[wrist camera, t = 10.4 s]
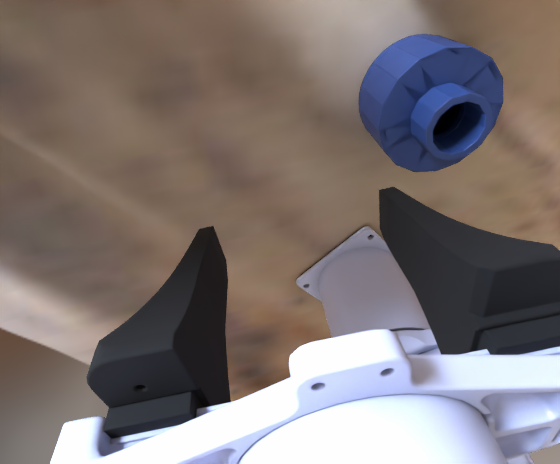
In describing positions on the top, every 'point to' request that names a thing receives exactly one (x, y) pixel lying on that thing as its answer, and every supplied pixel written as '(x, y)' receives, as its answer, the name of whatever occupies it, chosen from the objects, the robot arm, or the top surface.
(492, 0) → the top surface
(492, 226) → the top surface
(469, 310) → the robot arm
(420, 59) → the blue ribbed hub
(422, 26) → the top surface
